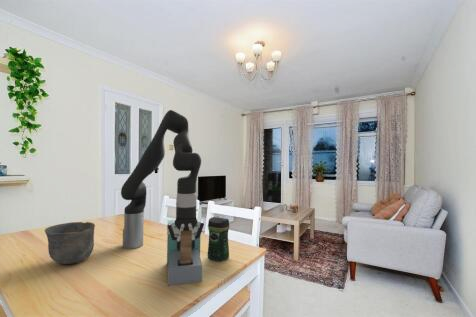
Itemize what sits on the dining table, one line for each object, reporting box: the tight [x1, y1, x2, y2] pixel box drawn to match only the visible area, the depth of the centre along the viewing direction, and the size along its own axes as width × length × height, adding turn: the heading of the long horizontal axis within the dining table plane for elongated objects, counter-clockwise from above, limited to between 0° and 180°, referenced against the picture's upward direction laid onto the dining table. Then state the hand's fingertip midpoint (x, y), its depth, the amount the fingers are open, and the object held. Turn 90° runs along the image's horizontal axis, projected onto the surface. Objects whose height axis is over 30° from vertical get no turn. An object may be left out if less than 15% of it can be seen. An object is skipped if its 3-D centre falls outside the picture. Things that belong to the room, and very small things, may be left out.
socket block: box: [167, 249, 203, 286], centre depth 90 cm, size 12×16×6 cm
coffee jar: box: [207, 216, 230, 263], centre depth 105 cm, size 10×8×19 cm
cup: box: [44, 221, 96, 265], centre depth 99 cm, size 18×18×15 cm
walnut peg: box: [180, 230, 192, 264], centre depth 87 cm, size 4×4×12 cm
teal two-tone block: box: [166, 218, 203, 266], centre depth 97 cm, size 14×8×18 cm, turn 105°
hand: (185, 249), depth 87 cm, fingers closed on walnut peg, 4 cm apart
